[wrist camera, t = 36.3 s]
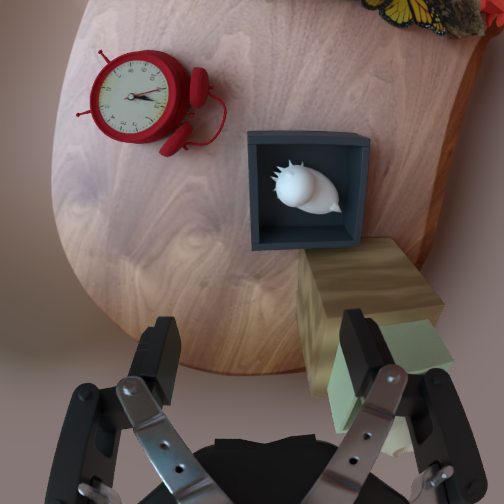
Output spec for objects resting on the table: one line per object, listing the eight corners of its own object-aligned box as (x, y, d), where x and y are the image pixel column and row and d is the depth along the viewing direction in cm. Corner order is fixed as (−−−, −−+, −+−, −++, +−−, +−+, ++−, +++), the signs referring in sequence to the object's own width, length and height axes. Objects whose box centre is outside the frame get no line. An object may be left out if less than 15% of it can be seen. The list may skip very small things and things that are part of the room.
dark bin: (247, 131, 29) (247, 136, 25) (354, 132, 29) (370, 138, 25) (251, 231, 34) (251, 251, 30) (347, 229, 34) (359, 247, 30)
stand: (300, 239, 35) (326, 318, 23) (390, 236, 35) (445, 304, 23) (295, 315, 41) (311, 398, 29) (373, 309, 41) (407, 382, 29)
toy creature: (281, 146, 29) (290, 157, 23) (343, 183, 31) (363, 202, 25) (260, 183, 31) (263, 202, 25) (321, 216, 33) (336, 241, 27)
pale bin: (341, 330, 23) (358, 382, 19) (428, 318, 23) (454, 360, 19) (326, 389, 28) (336, 434, 23) (401, 376, 28) (417, 415, 23)
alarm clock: (98, 35, 19) (231, 69, 20) (131, 46, 25) (248, 81, 25) (66, 129, 24) (182, 182, 24) (101, 125, 30) (206, 172, 30)
